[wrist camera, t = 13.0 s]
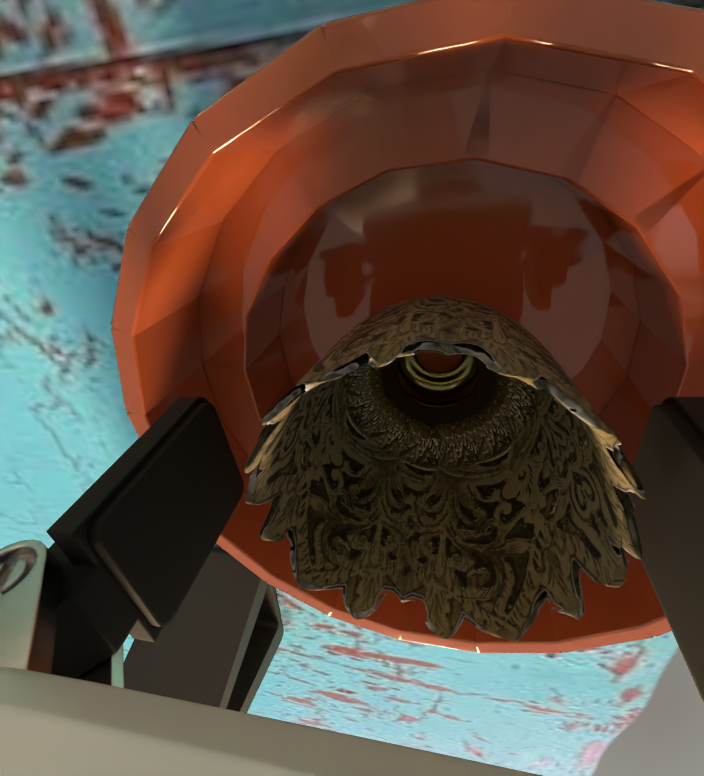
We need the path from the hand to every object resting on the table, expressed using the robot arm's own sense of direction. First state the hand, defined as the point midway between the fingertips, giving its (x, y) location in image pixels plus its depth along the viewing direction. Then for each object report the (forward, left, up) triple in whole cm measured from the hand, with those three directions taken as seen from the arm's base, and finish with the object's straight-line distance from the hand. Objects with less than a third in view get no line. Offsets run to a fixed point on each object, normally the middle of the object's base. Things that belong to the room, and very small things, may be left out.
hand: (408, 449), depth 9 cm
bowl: (+1, 0, -7) cm, 7 cm away
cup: (+1, 0, -6) cm, 6 cm away
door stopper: (+19, -14, -7) cm, 24 cm away
